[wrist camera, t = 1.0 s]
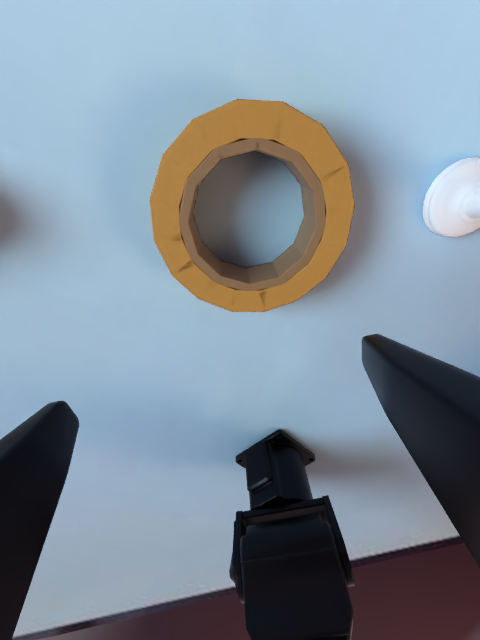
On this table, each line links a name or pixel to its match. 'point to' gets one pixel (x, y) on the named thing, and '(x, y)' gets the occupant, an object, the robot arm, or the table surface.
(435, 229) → the chess piece
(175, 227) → the tape roll
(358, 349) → the table surface
